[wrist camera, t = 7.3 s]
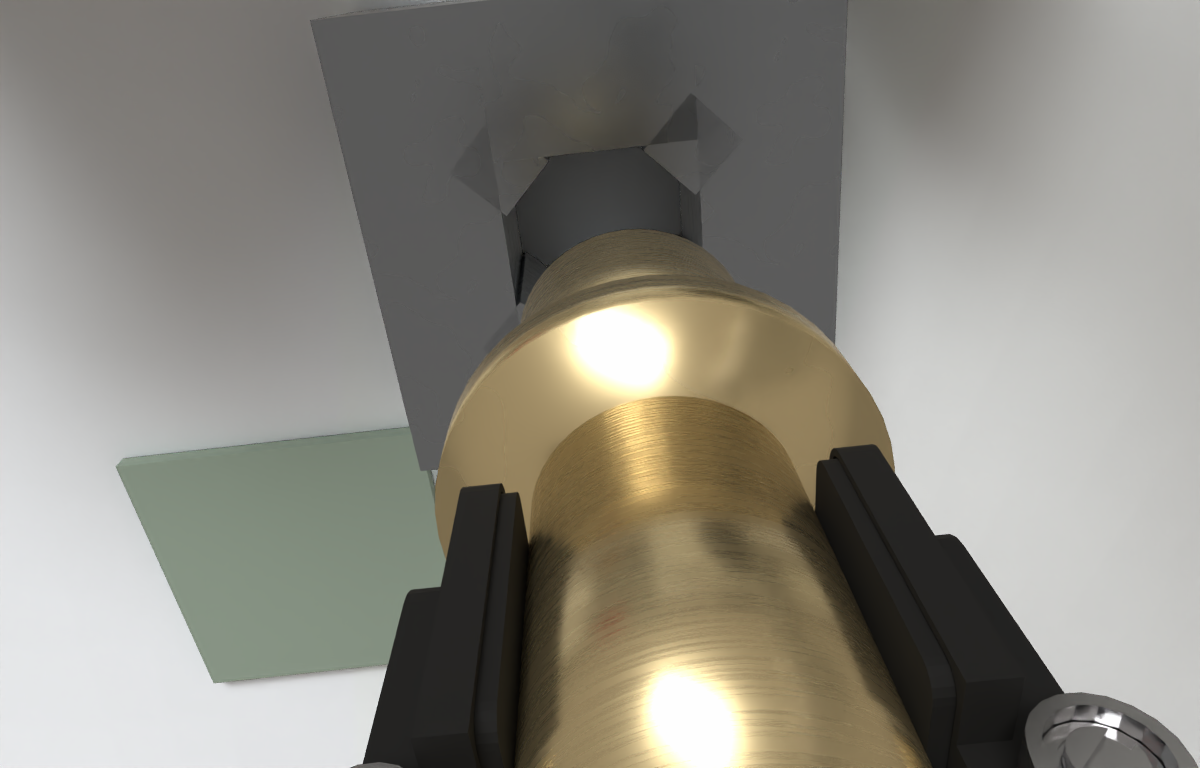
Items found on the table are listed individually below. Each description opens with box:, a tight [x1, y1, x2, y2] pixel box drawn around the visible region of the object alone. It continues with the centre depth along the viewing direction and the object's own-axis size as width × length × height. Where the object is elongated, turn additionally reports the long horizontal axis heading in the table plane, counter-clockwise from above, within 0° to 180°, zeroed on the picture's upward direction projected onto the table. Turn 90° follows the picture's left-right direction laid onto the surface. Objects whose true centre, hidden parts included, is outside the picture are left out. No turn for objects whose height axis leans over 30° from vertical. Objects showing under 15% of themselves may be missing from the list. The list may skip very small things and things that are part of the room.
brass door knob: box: [435, 229, 933, 768], centre depth 12 cm, size 7×7×12 cm
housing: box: [310, 0, 848, 471], centre depth 26 cm, size 14×14×5 cm
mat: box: [116, 427, 446, 683], centre depth 35 cm, size 12×12×1 cm
